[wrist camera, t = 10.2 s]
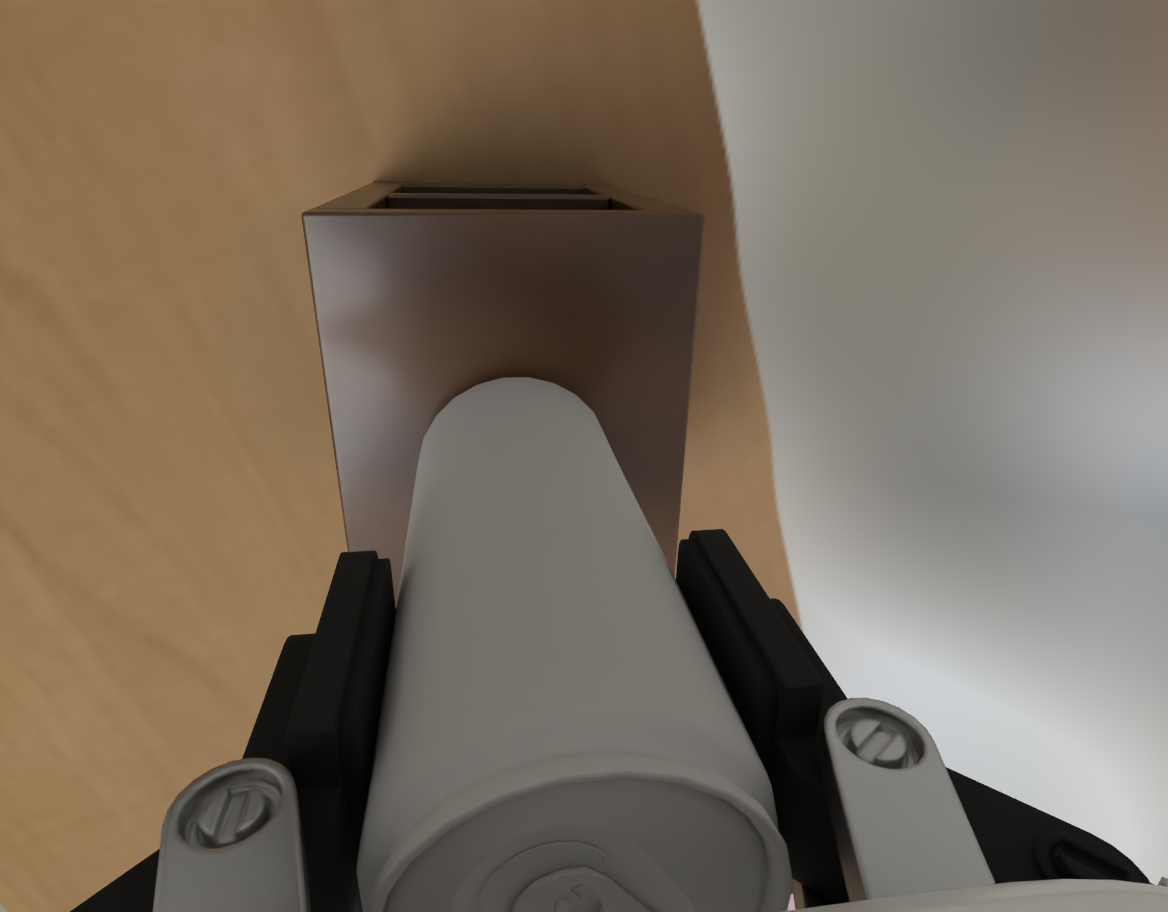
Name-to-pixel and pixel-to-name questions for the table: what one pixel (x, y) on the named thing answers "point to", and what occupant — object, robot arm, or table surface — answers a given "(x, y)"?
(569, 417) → the beverage can
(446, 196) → the divided wooden organizer
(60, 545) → the table surface
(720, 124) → the table surface
